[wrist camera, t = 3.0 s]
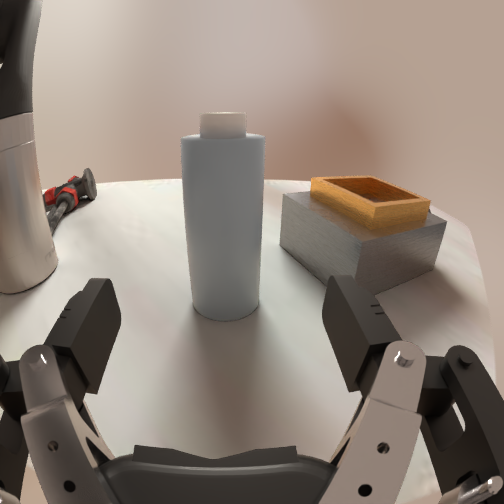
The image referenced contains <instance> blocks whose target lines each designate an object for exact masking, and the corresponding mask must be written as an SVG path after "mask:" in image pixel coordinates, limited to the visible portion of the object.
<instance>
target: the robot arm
mask: <svg viewBox="0 0 504 504" xmlns="http://www.w3.org/2000/svg"><path fill="white" fill-rule="evenodd" d="M41 8H42V0H0V64H2V63H3V65H2V67H1V68H0V292H2V293H6V294H7V293H17V292H21V291H24V290H27V289H29V288H31V287H33V286H35V285H37V284H38V283H40V282H42V281H43V280H44V279H46V278H47V277H48V276H49V275H50V274H51V273H52V272H53V271H54V269H55V268H56V266H57V264H58V258H57V254H56V251H55V246H54V242H53V240H52V236H51V232H50V228H49V223H48V219H47V215H46V210H45V205H44V201H43V195H42V190H41V184H40V178H39V172H38V165H37V157H36V148H35V140H34V125H33V113H32V112H33V107H32V73H33V59H34V51H35V44H36V38H37V32H38V27H39V22H40V16H41ZM322 319H323V324H324V327H325V329H326V332H327V335H328V337H329V340H330V342H331V345H332V348H333V350H334V353H335V356H336V358H337V361H338V364H339V367H340V369H341V372H342V375H343V377H344V380H345V383H346V386H347V389H348V391H349V392H354V391H359V390H360V392H361V394H362V398H361V399H360V401H359V404H358V406H357V408H356V410H355V413H354V415H353V417H352V419H351V421H350V424H349V426H348V428H347V430H346V432H345V434H344V436H343V438H342V440H341V442H340V444H339V445H338V447H337V449H336V450H335V452H334V454H333V455H332V457H331V459H330V461H329V462H326V461H323V460H321V459H318V458H314V457H310V456H305V455H297V450H296V446H288V447H279V448H268V449H255V450H252V451H248V452H244V453H240V454H237V455H233V456H229V457H224V458H220V459H208V458H203V457H199V456H196V455H192V454H188V453H185V452H181V451H178V450H174V449H168V448H157V447H148V446H140V445H135V446H134V453H133V454H129V455H125V456H121V457H117V458H115V456H114V455H113V454H112V452H111V451H110V449H109V448H108V447H107V445H106V444H105V442H104V440H103V438H102V436H101V434H100V432H99V430H98V428H97V426H96V424H95V422H94V420H93V418H92V415H91V413H90V411H89V409H88V407H87V404H86V402H85V401H84V396H85V393H91V394H97V393H98V390H99V387H100V384H101V380H102V377H103V374H104V371H105V368H106V365H107V362H108V359H109V356H110V354H111V351H112V348H113V345H114V342H115V340H116V337H117V334H118V331H119V329H120V326H121V312H120V308H119V305H118V302H117V298H116V295H115V291H114V288H113V284H112V281H111V280H110V279H108V278H91V279H90V280H89V281H88V283H87V284H86V286H85V287H84V289H83V291H79V292H78V293H77V294H75V295H74V296H73V297H72V298H71V299H70V300H69V301H68V303H67V305H66V306H65V308H64V310H63V311H62V313H61V314H60V318H58V319H57V321H56V323H55V324H54V326H53V328H52V330H51V331H50V333H49V335H48V337H47V339H46V340H45V342H44V344H43V345H36V346H33V347H31V348H29V349H28V350H27V351H26V352H25V353H24V354H23V355H22V357H21V359H20V360H18V361H9V362H5V361H4V359H3V358H2V356H1V355H0V407H1V408H2V409H3V410H4V412H3V415H2V418H1V420H0V504H21V503H20V496H21V489H22V482H23V477H24V472H25V467H26V463H27V458H28V454H30V457H31V460H32V463H33V466H34V469H35V472H36V474H37V477H38V480H39V483H40V485H41V488H42V490H43V492H44V495H45V497H46V500H47V502H48V504H394V503H395V501H396V499H397V496H398V494H399V491H400V489H401V486H402V483H403V481H404V478H405V475H406V472H407V469H408V466H409V463H410V460H411V457H412V454H413V451H414V447H415V444H416V440H417V436H418V433H419V429H420V430H421V432H422V435H423V438H424V441H425V444H426V446H427V449H428V452H429V455H430V458H431V461H432V464H433V467H434V470H435V473H436V477H437V480H438V483H439V487H440V490H441V493H442V498H441V499H440V501H439V503H438V504H504V400H503V399H502V397H501V395H500V393H499V391H498V390H497V388H496V386H495V384H494V383H493V381H492V379H491V377H490V376H489V374H488V372H487V371H486V369H485V367H484V366H483V364H482V363H481V361H480V359H479V358H478V356H477V355H476V354H475V353H474V352H473V351H472V350H471V349H469V348H467V347H465V346H461V345H457V346H453V347H451V348H450V349H449V350H448V352H447V354H446V355H445V357H438V356H425V354H424V353H423V351H422V350H421V349H420V348H419V347H418V346H417V345H415V344H413V343H411V342H408V341H402V339H401V338H400V336H399V334H398V333H397V331H396V329H395V328H394V326H393V324H392V323H391V321H390V320H389V318H388V316H387V315H386V314H385V312H384V310H383V309H382V307H381V306H380V304H379V302H378V301H377V299H376V298H375V296H374V295H373V294H372V293H370V292H369V291H368V290H367V289H365V288H364V287H358V285H357V283H356V282H355V280H354V279H353V277H352V276H351V275H331V276H330V277H329V280H328V284H327V289H326V294H325V299H324V304H323V309H322ZM455 402H456V404H457V406H458V408H459V410H460V412H461V414H462V417H463V419H464V421H465V431H463V429H462V426H461V424H460V422H459V419H458V417H457V415H456V413H455V411H454V408H453V406H452V405H453V404H454V403H455Z"/></svg>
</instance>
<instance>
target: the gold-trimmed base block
mask: <svg viewBox="0 0 504 504" xmlns="http://www.w3.org/2000/svg"><path fill="white" fill-rule="evenodd" d="M429 206H430V200H428V199H426V198H424V197H422V196H419V195H417V194H415V193H413V192H410V191H408V190H406V189H403V188H401V187H398V186H396V185H394V184H391V183H388V182H386V181H384V180H381V179H379V178H376V177H373V176H338V177H316V178H312V179H311V190H310V191H309V192H298V193H287V194H283V203H282V218H281V232H280V246H282V247H283V248H284V249H285V250H286V251H287V252H288V253H290V254H291V255H292V256H293V257H294V258H295V259H296V260H298V261H299V262H300V263H301V264H302V265H303V266H304V267H305V268H307V269H308V270H309V271H310V272H311V273H312V274H313V275H314V276H316V277H317V278H318V279H319V280H320V281H321V282H322V283H323V284H325V285H326V286H327V284H328V280H329V277H330V276H331V275H351V276H352V277H353V279H354V280H355V282H356V283H357V285H358V287H364V288H365V289H367V290H368V291H369V292H370V293H372V294H373V295H375V294H377V293H380V292H382V291H385V290H387V289H389V288H392V287H394V286H397V285H399V284H401V283H403V282H406V281H408V280H410V279H413V278H415V277H417V276H419V275H421V274H424V273H426V272H428V271H430V270H432V269H433V267H434V264H435V261H436V258H437V255H438V251H439V248H440V245H441V242H442V238H443V235H444V231H445V228H446V224H447V221H445V220H443V219H441V218H439V217H437V216H435V215H433V214H431V212H430V209H429Z"/></svg>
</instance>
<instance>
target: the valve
mask: <svg viewBox="0 0 504 504" xmlns="http://www.w3.org/2000/svg"><path fill="white" fill-rule="evenodd" d="M85 195H87V196H88V197H89V198H90V199H91V200H94V199H95V198H96V196H97V190H96V184H95V180H94V177H93V174H92V172H91V170H90V169H89V168H87V169H85V170H84V174H83V177H82V178H79V177H76V176H73V177H72V178H71V179H69V180H68V183H66V184H63V185H62V186H60V187H57V188H56V187H54V188H51V189H48V190H47V191H46V192H45V193H44V194H43V201H44V205H45V210H46V212H48V211H50V212H49V214H48V215H47V219H48V223H49V228H50V232H51V235H52V233H53V231H54V229H55V227H56V226H57V224H58V222H59V220H60V218H61V216H62V215H63V213H67V212H69V211H72V210H73V209H74V208H75V207H76V206H77V204H78V202H79V201H78V198H80V197H83V196H85Z"/></svg>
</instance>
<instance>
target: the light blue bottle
mask: <svg viewBox="0 0 504 504" xmlns="http://www.w3.org/2000/svg"><path fill="white" fill-rule="evenodd" d="M246 114H247V113H236V112H233V113H232V112H230V113H229V112H226V113H225V112H221V113H200V134H197V135H190V136H185V137H182V138H181V162H182V183H183V200H184V215H185V228H186V240H187V252H188V262H189V272H190V281H191V290H192V299H193V305H194V307H195V309H196V310H197V312H199V313H200V314H201V315H203V316H204V317H206V318H209V319H212V320H217V321H233V320H238V319H241V318H244V317H246V316H248V315H250V314H251V313H252V312H253V311H254V310H255V309H256V308H257V306H258V303H259V284H260V262H261V239H262V215H263V190H264V161H265V136H262V135H256V134H247V133H246V117H247V115H246Z"/></svg>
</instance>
